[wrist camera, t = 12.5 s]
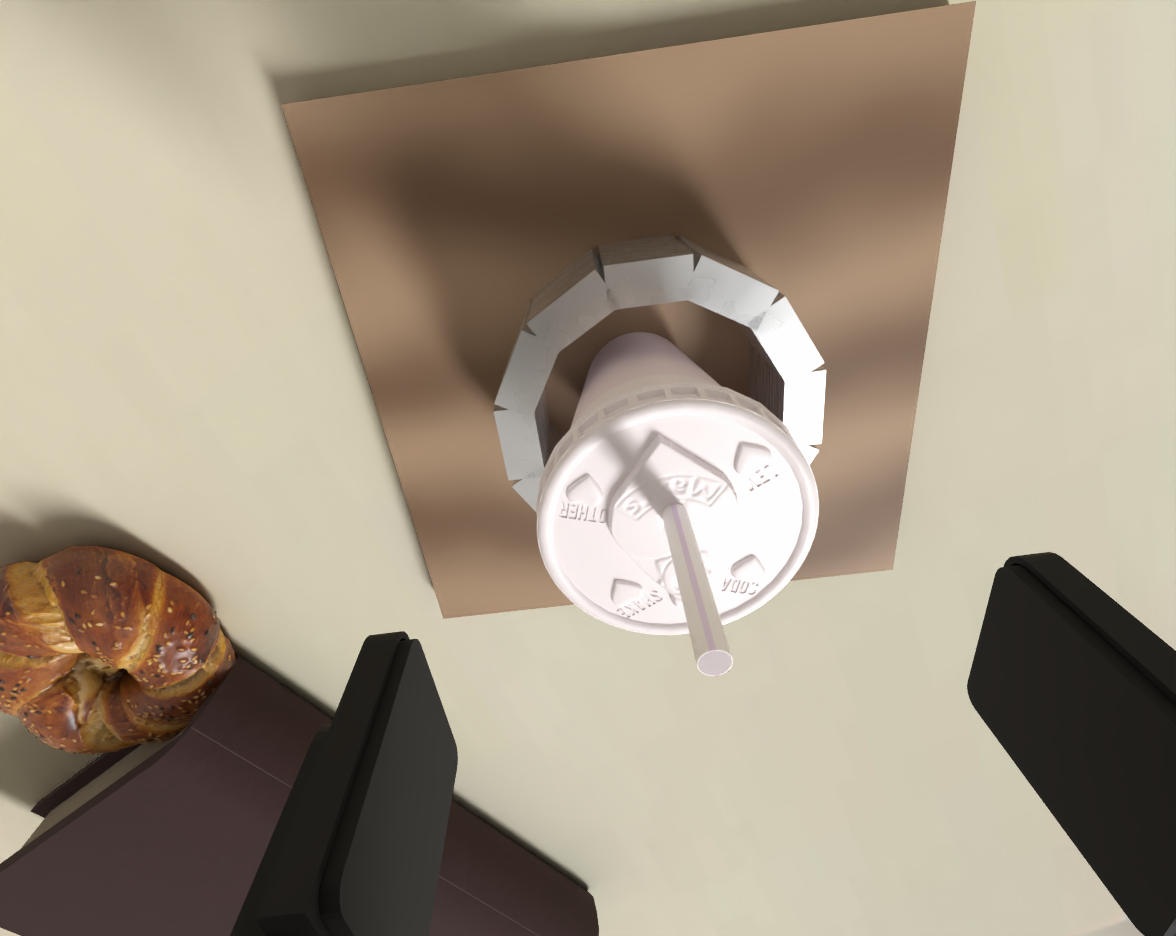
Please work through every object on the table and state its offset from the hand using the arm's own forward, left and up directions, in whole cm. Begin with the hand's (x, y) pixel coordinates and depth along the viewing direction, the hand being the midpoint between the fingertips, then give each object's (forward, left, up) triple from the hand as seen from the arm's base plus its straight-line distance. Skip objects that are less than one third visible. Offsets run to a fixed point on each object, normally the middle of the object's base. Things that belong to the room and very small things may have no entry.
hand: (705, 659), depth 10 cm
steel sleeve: (0, 0, -14) cm, 13 cm away
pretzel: (+10, -25, -15) cm, 31 cm away
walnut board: (0, 0, -15) cm, 15 cm away
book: (+29, -21, -15) cm, 39 cm away
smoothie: (0, 0, -14) cm, 14 cm away
